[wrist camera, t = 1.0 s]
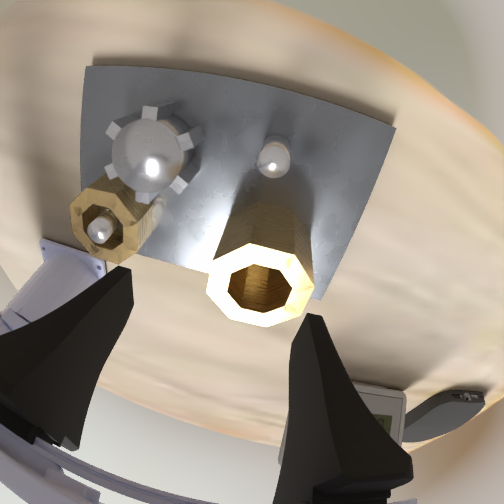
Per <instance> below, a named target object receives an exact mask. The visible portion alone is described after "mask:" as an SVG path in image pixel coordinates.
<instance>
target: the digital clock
mask: <svg viewBox="0 0 504 504" xmlns="http://www.w3.org/2000/svg"><path fill="white" fill-rule="evenodd" d="M352 383H353V385H354V387H355V388H356V390H357V392H358V394H359V395H360V397H361V398H362V400H363V402H364V403H365V404H366V406H367V407H368V409H369V410H370V412H371V413H372V414H373V416H374V417H375V418H376V419H377V421H378V422H379V423H380V425H381V426H382V427H383V428H384V430H385V431H386V432H387V433H388V434H389V435H390V436H391V437H392V439H393V440H394V441H395V442H396V443H397V444H398V445H399V446H400V447H401V445H402V438H403V430H404V422H405V413H406V395H405V393H404V392H402V391H399V390H392V389H386V387H383V386H377V385H372V384H366V383H361V382H356V381H352ZM288 417H289V411H288V416H287V421H286V425H285V430H284V434H283V439H282V443H281V447H280V452H279V457H278V462H279V464H280V466H281V465H282V460H283V454H284V448H285V442H286V435H287V427H288Z"/></svg>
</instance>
